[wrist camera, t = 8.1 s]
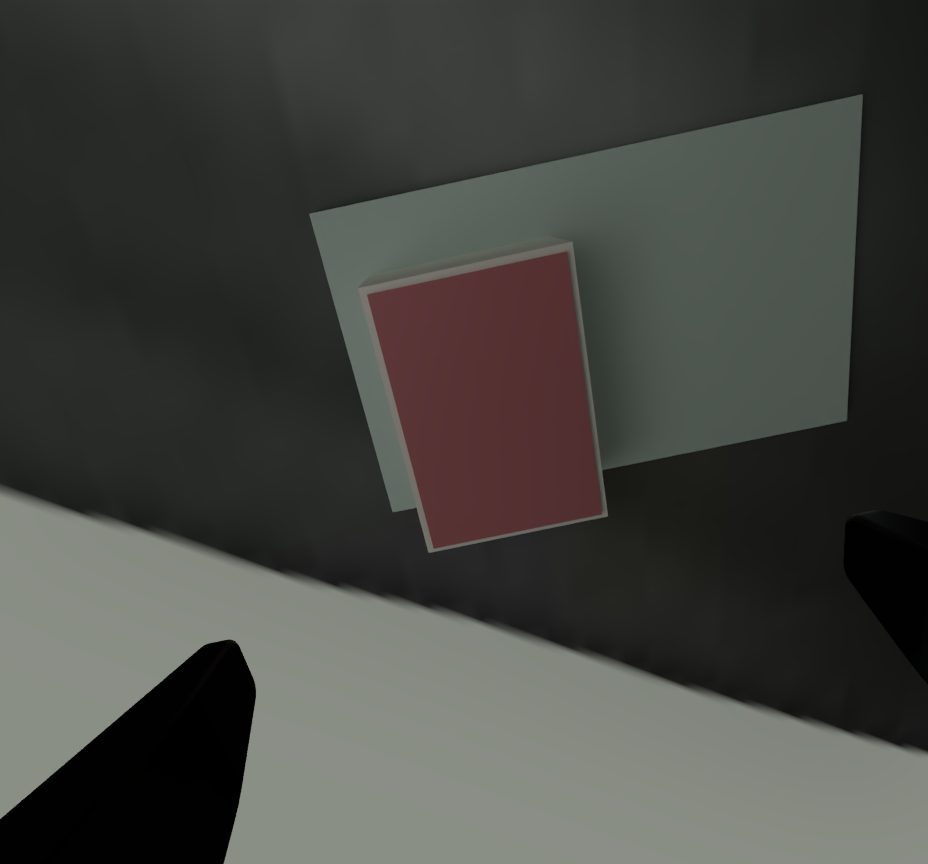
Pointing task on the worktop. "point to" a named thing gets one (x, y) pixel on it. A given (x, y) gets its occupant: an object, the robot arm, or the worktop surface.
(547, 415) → the card deck
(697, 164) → the mat
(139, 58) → the worktop surface
